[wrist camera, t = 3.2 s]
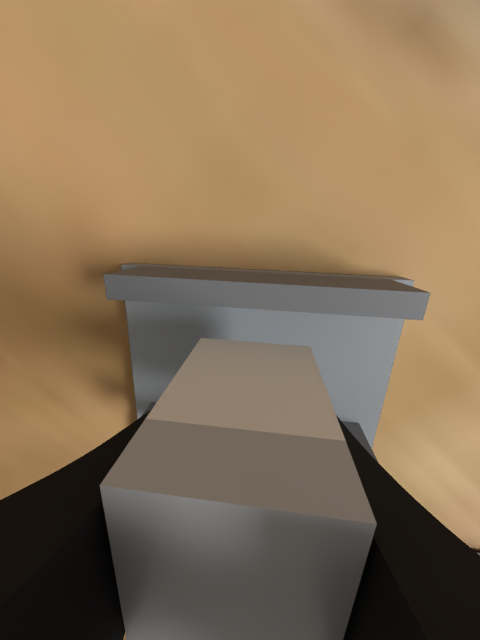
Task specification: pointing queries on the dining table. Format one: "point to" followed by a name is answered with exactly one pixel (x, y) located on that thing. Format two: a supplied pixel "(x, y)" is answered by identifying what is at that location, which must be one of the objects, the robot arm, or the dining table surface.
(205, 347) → the grey rectangular block
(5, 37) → the dining table surface
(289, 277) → the grey tiered rack
